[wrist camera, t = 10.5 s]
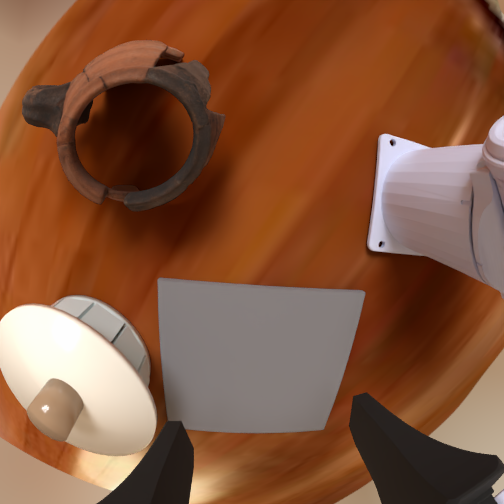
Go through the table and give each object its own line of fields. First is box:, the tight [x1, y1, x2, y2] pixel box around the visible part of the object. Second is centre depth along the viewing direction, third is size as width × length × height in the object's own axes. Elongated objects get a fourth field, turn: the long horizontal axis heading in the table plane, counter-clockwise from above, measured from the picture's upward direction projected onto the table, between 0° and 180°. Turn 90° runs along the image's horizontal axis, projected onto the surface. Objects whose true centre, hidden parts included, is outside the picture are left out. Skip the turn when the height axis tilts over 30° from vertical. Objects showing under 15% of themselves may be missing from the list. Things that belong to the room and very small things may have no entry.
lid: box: [0, 303, 157, 456], centre depth 12 cm, size 13×13×4 cm
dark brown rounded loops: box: [22, 40, 225, 211], centre depth 13 cm, size 12×9×8 cm
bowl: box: [51, 295, 151, 387], centre depth 17 cm, size 10×10×5 cm
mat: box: [158, 278, 365, 433], centre depth 20 cm, size 14×14×1 cm
